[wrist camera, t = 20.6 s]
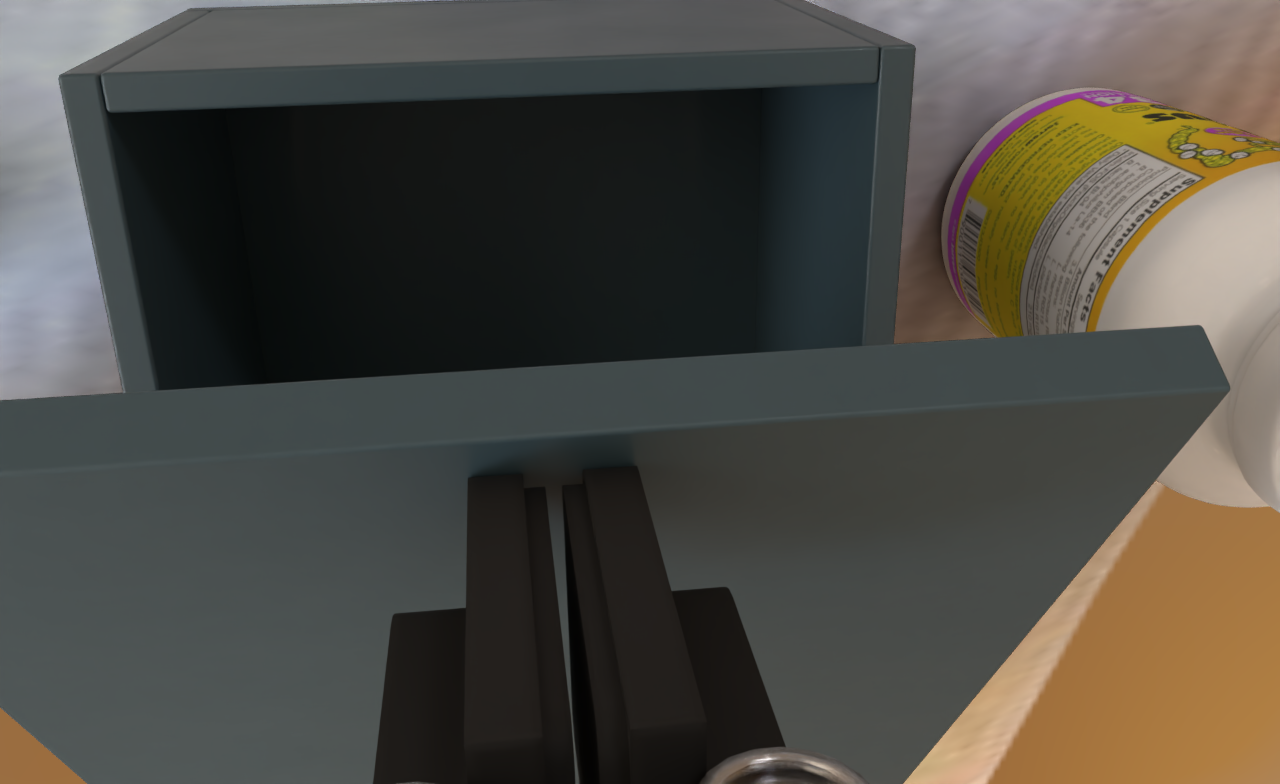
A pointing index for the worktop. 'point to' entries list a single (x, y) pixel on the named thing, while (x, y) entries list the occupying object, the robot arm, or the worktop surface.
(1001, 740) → the worktop surface
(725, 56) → the dark grey open box
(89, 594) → the lid
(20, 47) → the worktop surface
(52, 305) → the worktop surface
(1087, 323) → the supplement bottle
